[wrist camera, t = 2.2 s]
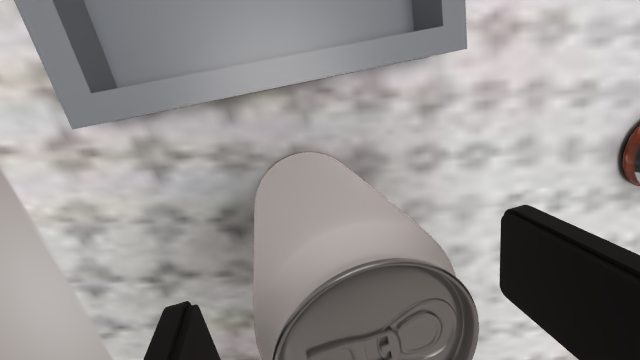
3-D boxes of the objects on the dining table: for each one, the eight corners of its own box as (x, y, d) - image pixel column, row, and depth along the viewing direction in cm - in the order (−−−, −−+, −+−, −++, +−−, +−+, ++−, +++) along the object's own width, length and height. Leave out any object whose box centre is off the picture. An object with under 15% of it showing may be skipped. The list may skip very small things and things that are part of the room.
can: (364, 229, 20) (500, 397, 9) (272, 260, 20) (295, 486, 8) (343, 137, 18) (484, 207, 7) (239, 168, 18) (211, 301, 6)
